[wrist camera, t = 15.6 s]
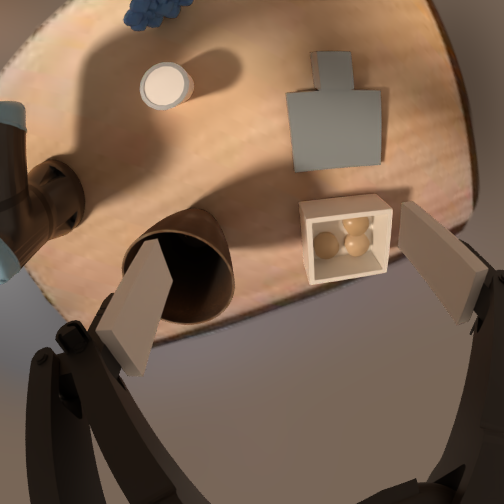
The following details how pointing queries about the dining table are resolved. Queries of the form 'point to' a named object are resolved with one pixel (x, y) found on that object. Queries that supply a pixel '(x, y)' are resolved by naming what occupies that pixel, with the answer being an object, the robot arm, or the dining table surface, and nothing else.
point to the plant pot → (191, 266)
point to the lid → (334, 118)
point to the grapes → (152, 12)
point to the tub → (345, 237)
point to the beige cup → (166, 86)
